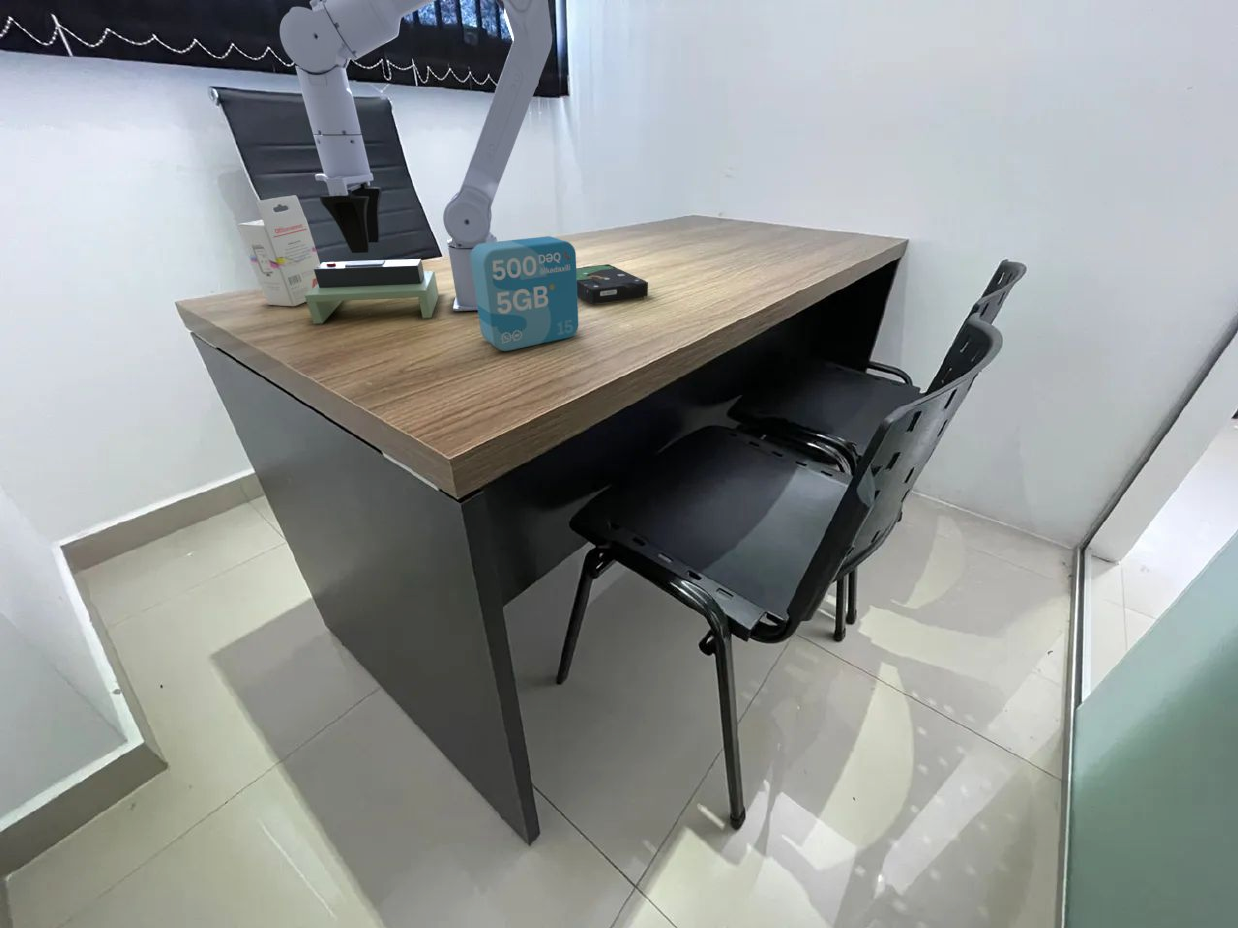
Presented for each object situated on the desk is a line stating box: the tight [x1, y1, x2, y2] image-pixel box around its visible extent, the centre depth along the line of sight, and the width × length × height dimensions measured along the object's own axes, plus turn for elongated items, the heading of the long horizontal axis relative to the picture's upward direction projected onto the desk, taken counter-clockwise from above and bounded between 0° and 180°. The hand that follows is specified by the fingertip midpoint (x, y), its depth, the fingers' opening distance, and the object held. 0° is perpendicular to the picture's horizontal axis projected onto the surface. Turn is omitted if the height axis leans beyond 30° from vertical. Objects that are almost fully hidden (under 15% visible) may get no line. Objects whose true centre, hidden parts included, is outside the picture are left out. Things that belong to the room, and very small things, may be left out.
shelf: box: [305, 270, 440, 325], centre depth 77 cm, size 16×12×4 cm
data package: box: [470, 235, 579, 352], centre depth 64 cm, size 12×4×12 cm, turn 124°
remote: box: [314, 258, 425, 288], centre depth 76 cm, size 14×4×3 cm, turn 101°
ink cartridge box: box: [236, 194, 321, 307], centre depth 79 cm, size 9×5×15 cm, turn 168°
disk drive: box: [576, 263, 649, 305], centre depth 87 cm, size 10×3×15 cm
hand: (366, 247), depth 74 cm, fingers open, 7 cm apart
